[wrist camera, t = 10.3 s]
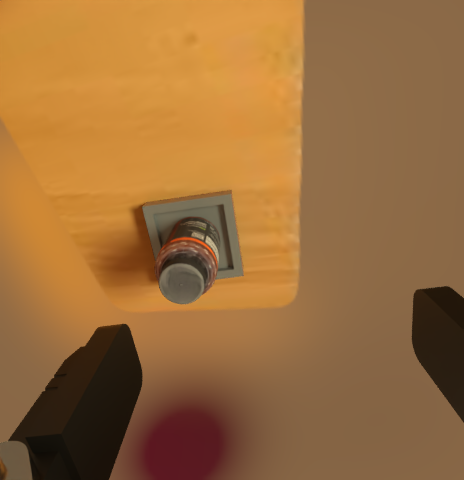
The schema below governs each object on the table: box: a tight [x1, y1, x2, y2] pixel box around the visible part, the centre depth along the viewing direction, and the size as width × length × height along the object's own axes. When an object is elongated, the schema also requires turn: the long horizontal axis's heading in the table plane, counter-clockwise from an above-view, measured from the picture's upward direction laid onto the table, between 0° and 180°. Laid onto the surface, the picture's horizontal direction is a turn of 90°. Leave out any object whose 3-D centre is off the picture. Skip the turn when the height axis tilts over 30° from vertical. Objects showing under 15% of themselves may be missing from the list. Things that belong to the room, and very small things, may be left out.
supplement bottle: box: [155, 217, 220, 304], centre depth 34 cm, size 6×6×11 cm
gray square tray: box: [142, 190, 244, 279], centre depth 40 cm, size 10×10×2 cm
